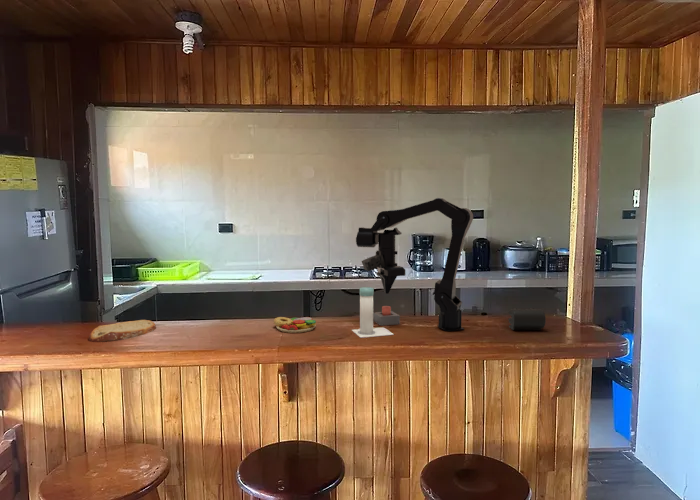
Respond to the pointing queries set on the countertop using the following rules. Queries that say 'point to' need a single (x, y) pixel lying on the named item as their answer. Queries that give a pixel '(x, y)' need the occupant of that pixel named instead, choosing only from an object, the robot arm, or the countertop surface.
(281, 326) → the toy food set
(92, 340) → the slice of bread
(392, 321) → the button housing
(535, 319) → the end cap
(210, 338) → the countertop surface
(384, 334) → the paper
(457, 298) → the robot arm
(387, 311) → the button
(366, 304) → the teal and white bottle
